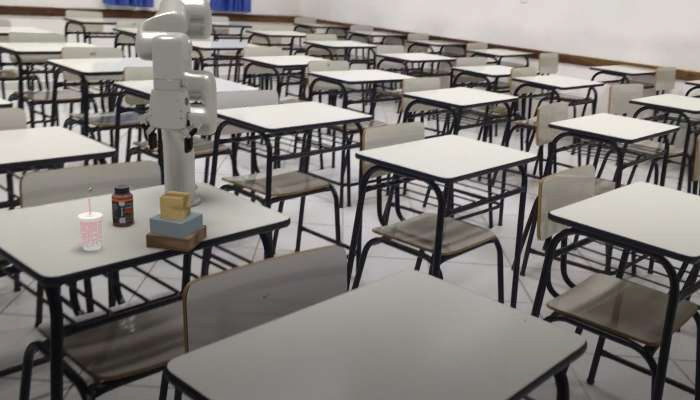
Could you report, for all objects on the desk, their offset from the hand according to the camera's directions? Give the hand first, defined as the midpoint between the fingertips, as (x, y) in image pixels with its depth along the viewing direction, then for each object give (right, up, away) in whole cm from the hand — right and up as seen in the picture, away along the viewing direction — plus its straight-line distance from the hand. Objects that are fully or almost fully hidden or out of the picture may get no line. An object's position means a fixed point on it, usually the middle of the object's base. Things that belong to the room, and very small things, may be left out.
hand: (170, 150), depth 181 cm
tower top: (0, -21, +7) cm, 22 cm away
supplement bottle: (-19, -20, +20) cm, 34 cm away
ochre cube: (0, -17, +6) cm, 18 cm away
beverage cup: (-21, -26, +1) cm, 33 cm away
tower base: (0, -25, +8) cm, 26 cm away
